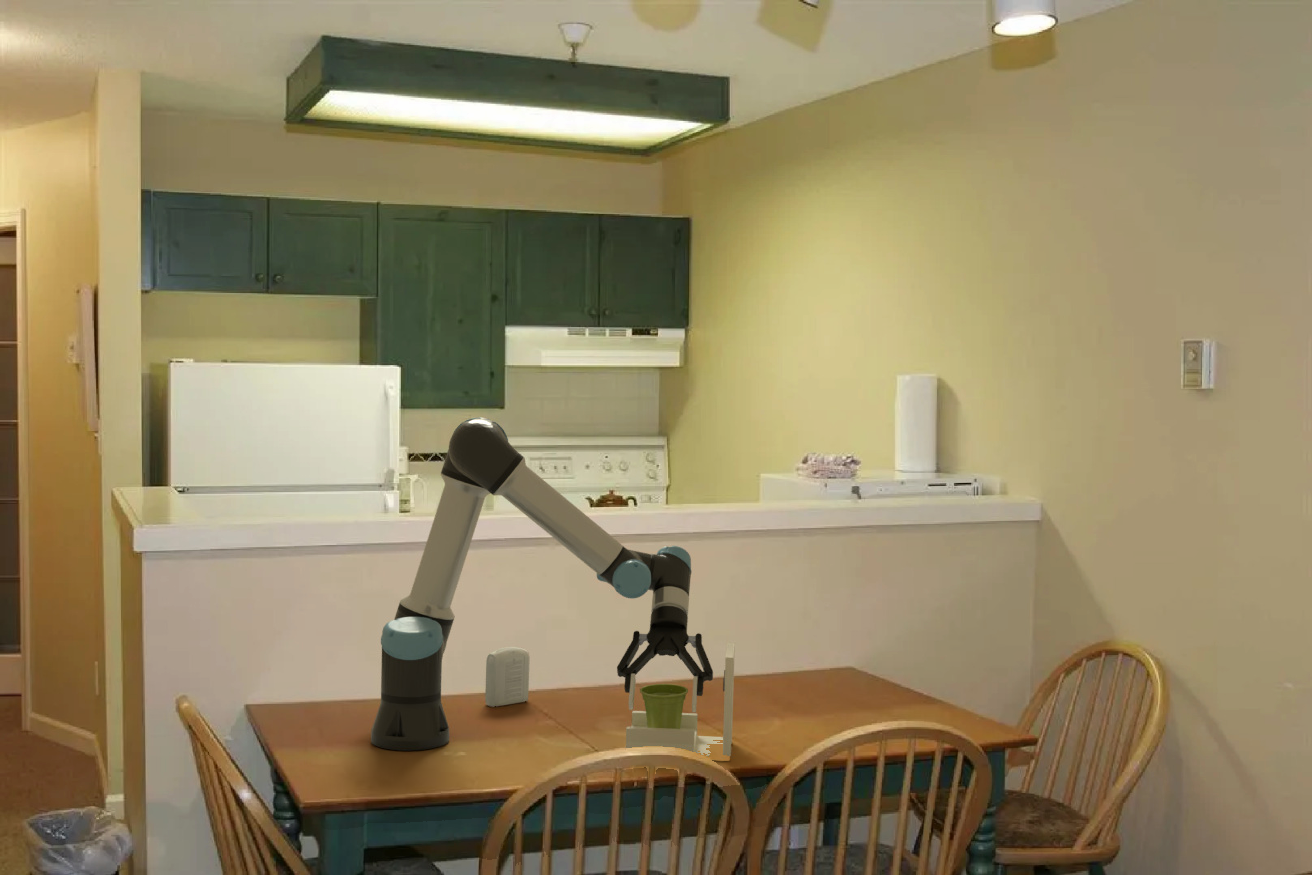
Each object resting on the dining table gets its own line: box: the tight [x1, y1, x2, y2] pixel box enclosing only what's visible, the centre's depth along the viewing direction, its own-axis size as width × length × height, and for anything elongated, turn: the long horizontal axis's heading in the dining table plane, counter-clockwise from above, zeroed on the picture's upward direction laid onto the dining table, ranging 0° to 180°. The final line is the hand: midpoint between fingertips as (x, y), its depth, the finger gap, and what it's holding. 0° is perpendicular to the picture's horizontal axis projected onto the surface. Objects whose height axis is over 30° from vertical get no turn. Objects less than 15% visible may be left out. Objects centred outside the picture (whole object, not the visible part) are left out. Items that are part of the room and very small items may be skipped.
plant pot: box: [639, 683, 689, 729], centre depth 275 cm, size 9×9×9 cm
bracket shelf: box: [625, 642, 736, 757], centre depth 275 cm, size 14×20×20 cm
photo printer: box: [484, 646, 530, 708], centre depth 308 cm, size 10×4×12 cm, turn 134°
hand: (662, 707), depth 272 cm, fingers open, 11 cm apart
